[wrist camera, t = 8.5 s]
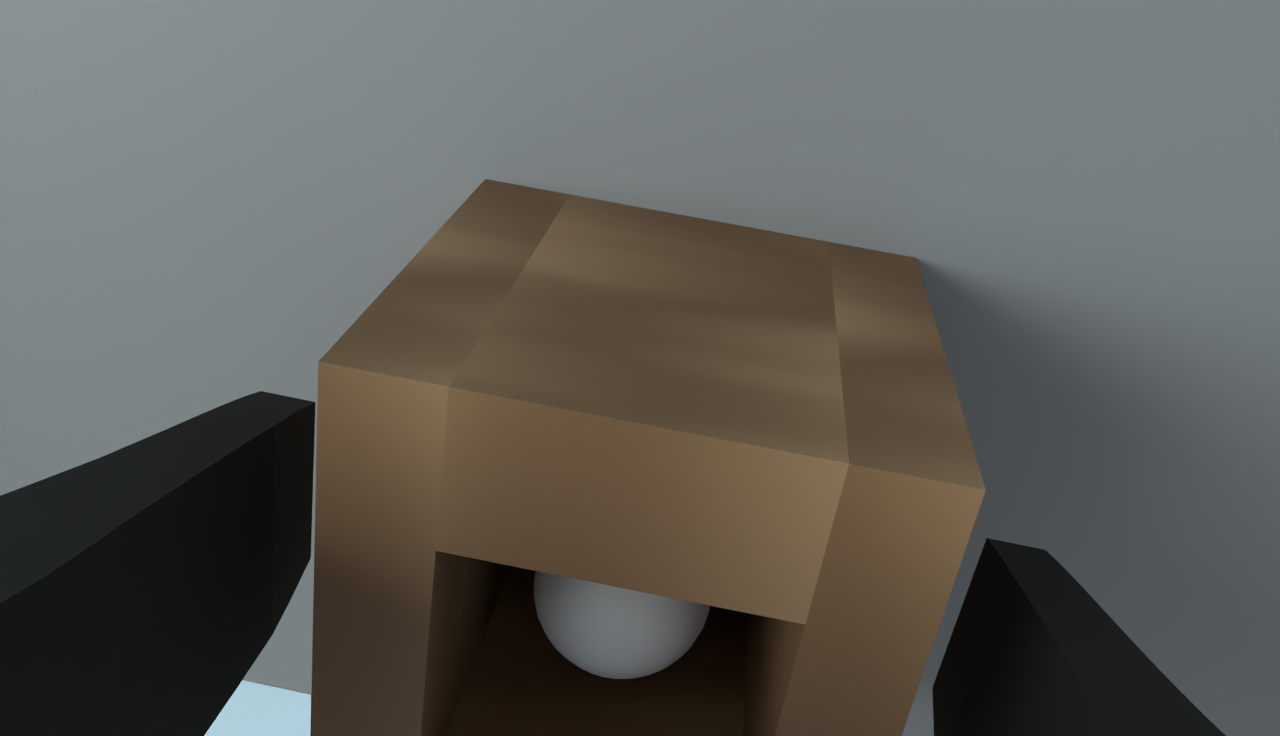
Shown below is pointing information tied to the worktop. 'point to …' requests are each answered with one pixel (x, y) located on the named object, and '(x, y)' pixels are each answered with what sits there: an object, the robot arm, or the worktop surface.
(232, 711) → the worktop surface
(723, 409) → the collar
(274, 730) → the worktop surface
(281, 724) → the worktop surface
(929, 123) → the hub board
